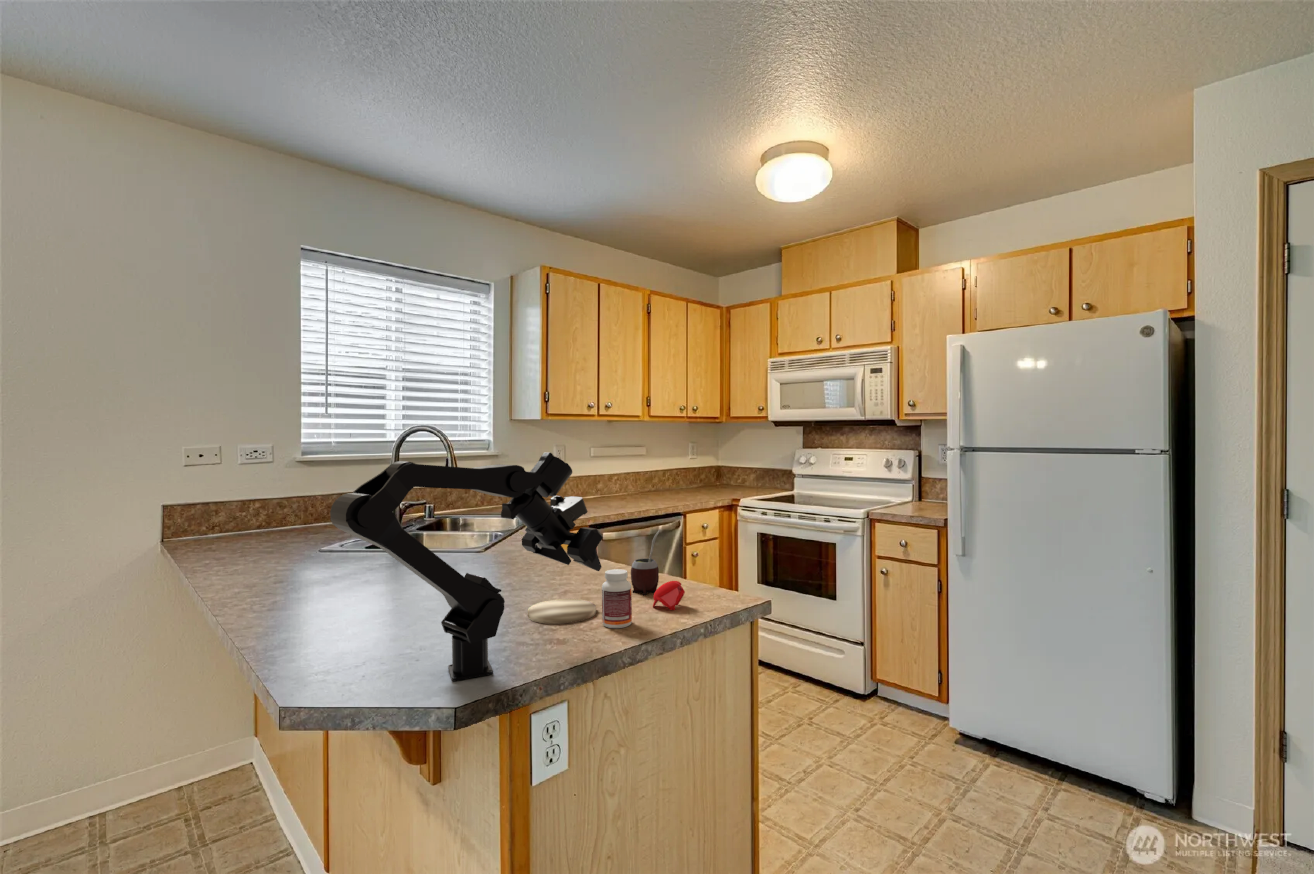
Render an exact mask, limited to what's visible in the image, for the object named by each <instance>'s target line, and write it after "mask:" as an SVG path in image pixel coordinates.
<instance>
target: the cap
mask: <svg viewBox="0 0 1314 874" xmlns="http://www.w3.org/2000/svg"><path fill="white" fill-rule="evenodd" d="M685 593H686V591H685V590H684V587H683V586H682V582H681V581H679V580H670V581H667V582H664V583H663V584H662V585H660V586H659V587H657V590H656V591H655V593H653V604H652V608H654V607H655V606H656V605H657V603H658V602H659V603H661V604H662V605H663V606H664V607H667V609H669V611H675V610H676V606H679V604H680V602H681V600H682V599H683V597H684V596H685Z"/></svg>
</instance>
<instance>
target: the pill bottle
mask: <svg viewBox="0 0 1314 874" xmlns="http://www.w3.org/2000/svg"><path fill="white" fill-rule="evenodd" d="M604 578H605V580H606V581H604V582H603V583H602V584H601V611H602V612H601V615H602V617H601V620H602V621H601V623H602V626H604V627H606V628H608V629H623V628H626V627H629V626H631V624H632V623H633V617H632V616H633V612H632V611H633V608H632V605H633V604H632V601H633V600H632V599H633V598H632V583H631V582H630V581H629V580H627V579H628V571H627V569H621V568H618V569H617V568H616V569H608V570H605V572H604Z"/></svg>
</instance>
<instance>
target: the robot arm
mask: <svg viewBox="0 0 1314 874" xmlns="http://www.w3.org/2000/svg"><path fill="white" fill-rule="evenodd" d="M572 474H573V469H572V467H571V465H569V463H568V462H565V461H564V460H562V459H561V458H560V457H558V456H555V455H554V454H553V453H552V452H543V453H542V455H540V456H539V460H538V461H536V464H534V466H533V467H532V469H531V470H530V471H526V470H525V468H524V467H523V466H521V465H518V464H500V463H499V464H490V465H481V466H476V467H461V466H450V465H449V466H448V465H447V466H446V465H434V464H433V465H432V464H422V463H415V462H411V461H394V462H392V463H390V465H388V466H387V467H386V468H385V469H383V470H382V471H381V472H380V473H378V474H377V475H375V476H374V477H372V478H371V479H369V480H367V481H366V482H364V483H363V484H361V485H360V486H358V487H357V488H356V489H354V490H353V492H348V493H344V494H342V495H339V496H338V497H337V499H335V500H334V501H333V503H332V505H331V506H330V512H329V515H330V522H331V523H332V525H333V526H334V527H335V528H337V529H338V530H340V531H342V532H344V533H347V534H348V535H351V536H352V537H355V538H357V539H359V540H362V541H364V542H366V543H369V544H371V545H373V546H375V547H378V548H380V550H382V551H384V552H385V553H387V555H389V556H391V557H392V558H394V560H396V561H397V562H399V564H401V565H402V566H404V567H405V568H407V569H408V570H410V571H411V572H412V573H414V574H415V575H416V576H417V577H419V578H420V579H422V580H423V581H425V583H427V584H429V586H431V587H432V588H434V589H435V590H437V591H438V592H439V593H441V595H442V596H443V597H444V598H445V600H446V603H447V604H448V606H449V607H450V608H451V609H450V610H449V611H448V613H447V614H446V615H445V616H444V617H443V619H442V621H441V626H442V629H443V631H444V633H445V634H449V635H451V648H452V649H451V650H452V652H451V655H452V656H451V658H452V659H451V661H452V663H450V664H448V666H447V669H448V672H449V675H450V679H451V681H453V682H454V681H462V680H467V679H473V678H478V677H484V676H489V675H493V674H494V669H493V667H492V664H491V663H490V661H489V641H488V640H489V639H491V638H494V637H496V636H497V632H498V630H499V629H498V628H499V625H500V622H501V619H502V617H503V613H504V610H505V602H506V601H505V599H504V596H503V595H501V594H500V593H501V592H502V589H501V588H498V587H495V586H493V585H492V583H491V582H490V581H489V580H488V578H486V577H484V576H480V575H477V574H473V573H469V572H466V573H465V575H462V574H461V573H460V572H459V571H457V570H456V569H455V568H454V567H452V566H451V565H449V563H447V562H446V561H444V560H443V559H442V558H441V557H440V556H438V555H437V554H436V553H434V552H433V551H431V549H429V548H428V547H426V546H425V545H424V544H423V543H422V542H421V541H419V540H418V539H416V538H415V537H414V536H413V535H412V534H410V533H409V532H407V531H406V530H405V529H404V527H403V526H402V524H401V522H400V521H399V518H398V517H397V515H396V514H395V512H394V511H395V510H396V509H397V508H398V507H400V505H401V504H402V502H403V501H404V500H405V498H406V496H407V495H408V493H409V492H411V490H413V489H414V488H429V489H430V488H431V489H453V490H454V489H455V490H456V489H458V490H471V491H474V492H478V493H481V494H485V495H488V496H493V497H500V498H510V500H509V501H508V502H506V503H504V502H503V503H501V511H500V512H501V513H500V518H502V519H506V520H507V519H509V520H514V519H515V518H516V517H517V519H519V520H520V522H521V523H522V524H523V525H524V526H525V527H526V528H525V529H524V531H525V534H524V535H523V536H522V538H521V546H522V547H523V548H524V549H525V550H526V551H527V552H531V553H533V554H535V555H538V556H541V557H545V558H547V559H550V560H553V561H555V562H558V563H562V564H564V565H566V566H569V565H570V564H571V563H572V559H573V562H575V563H577V564H579V565H582V566H584V567H586V568H589V569H591V570H594V571H597V572H600V571H601V569H602V564H601V561H600V558H599V554H598V552H597V547H598V546H599V544H600V543H601V541H602V540H603V538H604V537H603V534H602V533H601V531H599V529H598V528H593V527H586V526H585V527H579V529H578V530H577V531H576V532H571V530H573V529H574V528H575V526H576V523H575V521H576V520H578V519H579V518H581V517H582V516H585V515H586V514H588V512H589V511H588V508H587V506H586V503H585V500H584V498H583V496H573V495H572V496H571V495H570V496H564V497H563V496H561V495H557V494H558V493H559V492H560V490H561V489H562V488H563V487H564V485H565V484H566V483H567V481H568V480H569V479H570V477H571V476H572ZM549 497H551V498H550V503H548V501H547V500H546V498H549ZM562 545H565V546H566V545H567V546H566V550H565V549H564V547H563V546H562Z"/></svg>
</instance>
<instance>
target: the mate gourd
mask: <svg viewBox="0 0 1314 874" xmlns="http://www.w3.org/2000/svg"><path fill="white" fill-rule="evenodd" d="M660 532H661V529H659V530H658V531H657V532H656V533H655V534H654V536H653V539H651V540H652V541H651V548H650V553H649V558H638V559H635V560H634V561H633V562H632V564H631V568H630V581H631V582H630V583H631V587H632V589H633V590H632V593H633V594H639V593H640V594H642V596H647V594H648V593H649V594H651V593H653V594H654V593H655V591H656V590H657V589H658V585H659V582H660V581H659V577H660V575H659V572H660V571H659V566H658V565H659V564H658V563H657V561H656V560H655V559H652V556H653V552H654V546H655V543H656V539H657V537H658V535H659V533H660Z"/></svg>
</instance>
